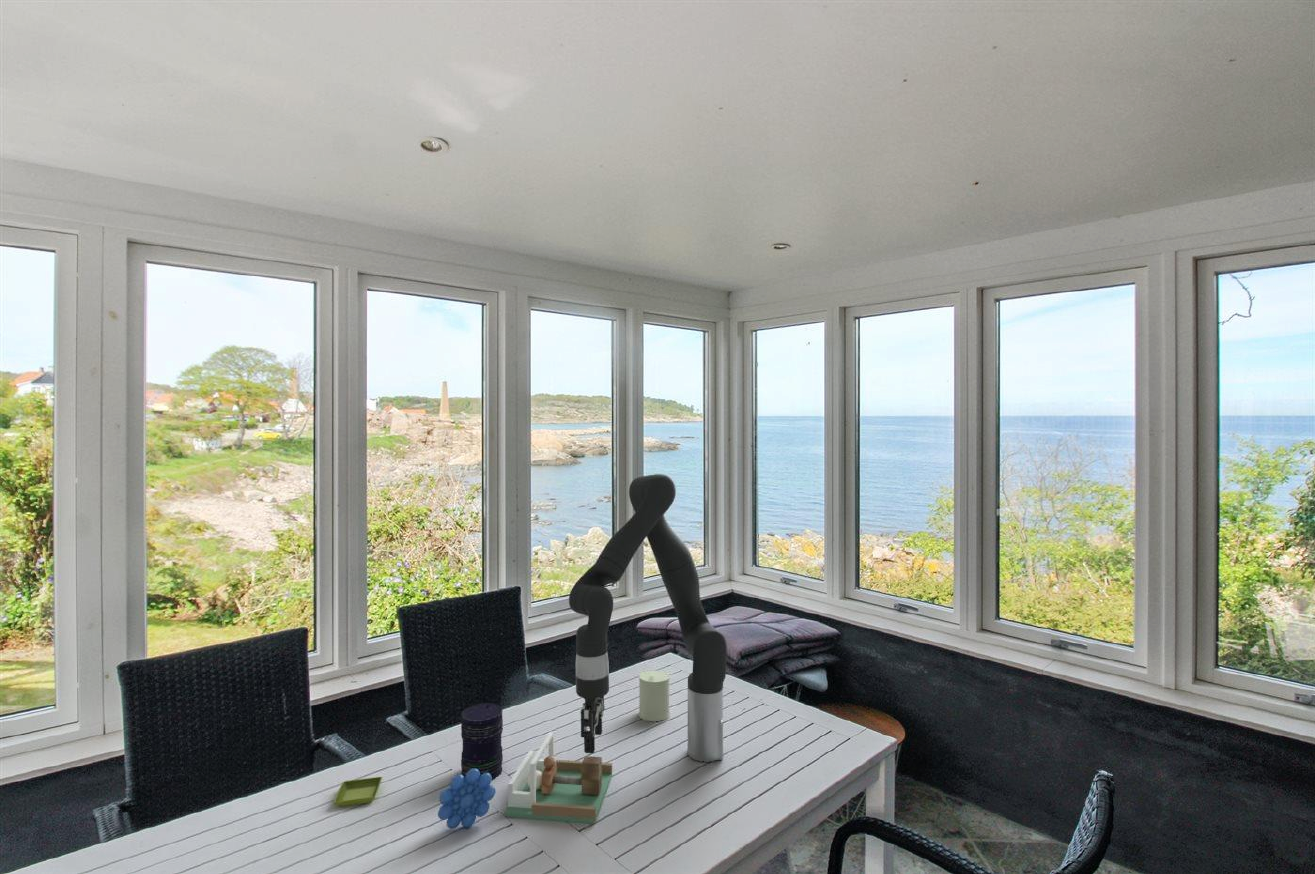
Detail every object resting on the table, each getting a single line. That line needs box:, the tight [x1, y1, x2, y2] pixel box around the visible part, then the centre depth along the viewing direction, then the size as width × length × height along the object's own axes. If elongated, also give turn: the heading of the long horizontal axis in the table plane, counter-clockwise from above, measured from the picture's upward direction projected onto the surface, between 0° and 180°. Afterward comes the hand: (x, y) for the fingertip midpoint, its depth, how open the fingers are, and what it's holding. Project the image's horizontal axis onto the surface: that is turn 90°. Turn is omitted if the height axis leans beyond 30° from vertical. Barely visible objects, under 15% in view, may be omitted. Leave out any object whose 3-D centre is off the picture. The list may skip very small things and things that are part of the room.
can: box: [638, 670, 671, 723], centre depth 185 cm, size 9×9×12 cm
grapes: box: [437, 768, 496, 830], centre depth 132 cm, size 12×7×12 cm, turn 108°
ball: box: [527, 770, 542, 790], centre depth 143 cm, size 4×4×4 cm
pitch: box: [504, 731, 613, 825], centre depth 143 cm, size 20×19×11 cm
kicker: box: [542, 755, 603, 795], centre depth 142 cm, size 13×5×7 cm, turn 83°
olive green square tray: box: [333, 776, 383, 807], centre depth 142 cm, size 9×9×2 cm
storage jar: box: [460, 702, 504, 781], centre depth 152 cm, size 10×10×15 cm
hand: (593, 742), depth 142 cm, fingers open, 8 cm apart
